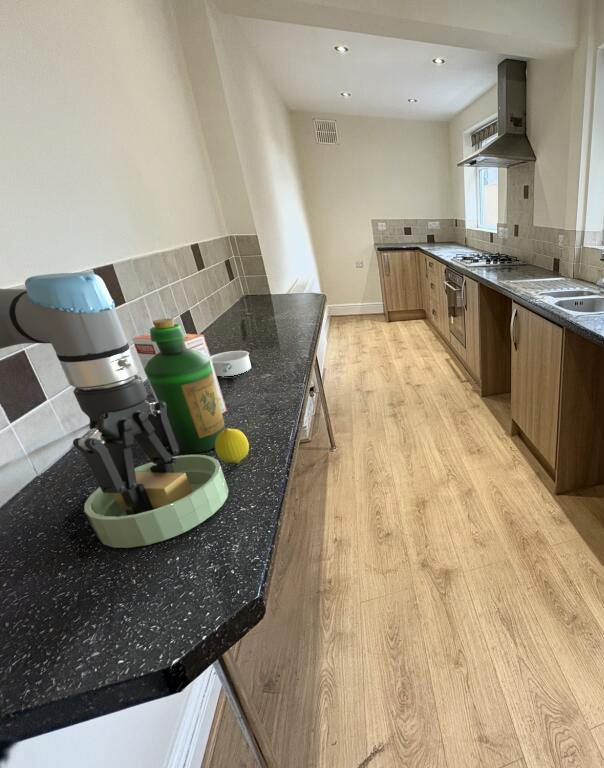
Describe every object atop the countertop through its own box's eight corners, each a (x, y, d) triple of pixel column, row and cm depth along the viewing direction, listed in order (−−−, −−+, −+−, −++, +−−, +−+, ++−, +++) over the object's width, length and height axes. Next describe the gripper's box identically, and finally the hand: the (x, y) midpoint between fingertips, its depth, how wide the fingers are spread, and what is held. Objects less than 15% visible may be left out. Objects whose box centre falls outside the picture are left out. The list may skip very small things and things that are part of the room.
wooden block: (123, 517, 68) (109, 487, 66) (146, 500, 72) (134, 471, 70) (176, 518, 68) (164, 488, 65) (195, 500, 72) (185, 472, 69)
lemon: (248, 452, 87) (239, 419, 84) (256, 463, 84) (246, 428, 81) (218, 462, 84) (207, 428, 81) (224, 474, 80) (213, 438, 77)
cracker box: (160, 418, 102) (129, 337, 94) (181, 407, 108) (154, 330, 100) (209, 422, 100) (182, 340, 92) (228, 411, 106) (204, 333, 97)
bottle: (234, 447, 89) (195, 322, 78) (173, 463, 84) (122, 330, 73) (232, 428, 97) (197, 312, 87) (176, 441, 92) (131, 318, 81)
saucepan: (206, 391, 117) (200, 373, 115) (213, 370, 134) (208, 354, 131) (252, 384, 123) (247, 366, 120) (253, 364, 139) (249, 348, 137)
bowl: (67, 549, 62) (50, 518, 60) (161, 480, 78) (150, 453, 76) (178, 552, 62) (165, 520, 59) (250, 482, 78) (242, 455, 75)
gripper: (71, 407, 52) (135, 546, 61) (178, 361, 69) (216, 477, 78) (15, 406, 53) (87, 545, 62) (134, 361, 69) (178, 476, 78)
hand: (159, 507), depth 70 cm, fingers closed on wooden block, 4 cm apart
